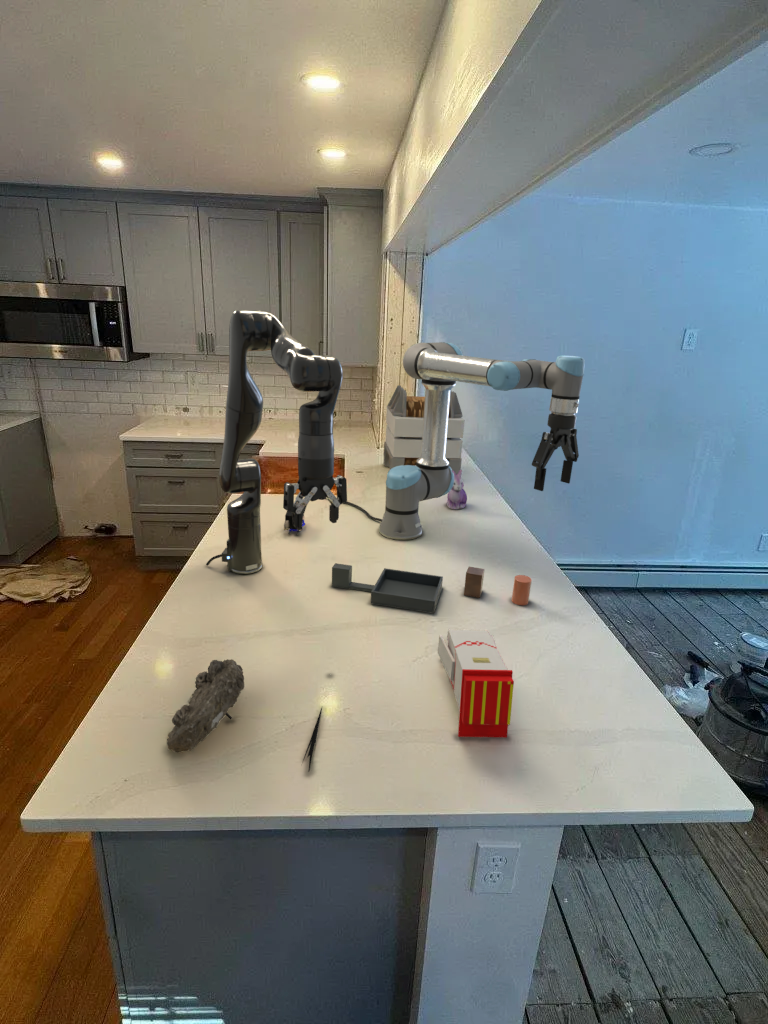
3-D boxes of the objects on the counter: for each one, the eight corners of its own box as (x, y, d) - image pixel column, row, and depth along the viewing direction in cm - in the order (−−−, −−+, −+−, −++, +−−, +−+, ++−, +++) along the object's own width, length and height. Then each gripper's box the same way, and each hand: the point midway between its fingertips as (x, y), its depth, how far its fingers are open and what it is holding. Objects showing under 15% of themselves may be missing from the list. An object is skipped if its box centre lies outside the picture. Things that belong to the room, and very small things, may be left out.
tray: (324, 596, 155) (324, 576, 153) (341, 573, 169) (341, 554, 167) (434, 613, 149) (435, 593, 147) (442, 587, 163) (443, 568, 160)
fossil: (192, 660, 117) (244, 628, 112) (224, 691, 120) (276, 661, 115) (142, 746, 98) (202, 712, 93) (182, 779, 101) (242, 748, 96)
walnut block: (463, 595, 159) (466, 572, 156) (466, 588, 163) (468, 566, 160) (479, 598, 158) (482, 575, 155) (482, 591, 162) (484, 568, 159)
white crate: (382, 463, 289) (386, 382, 275) (445, 464, 293) (451, 384, 279) (390, 482, 257) (394, 392, 243) (460, 483, 261) (468, 394, 247)
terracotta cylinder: (508, 600, 157) (511, 577, 155) (518, 595, 160) (521, 573, 158) (521, 607, 154) (524, 584, 151) (531, 602, 157) (535, 579, 154)
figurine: (453, 511, 224) (457, 474, 219) (439, 503, 233) (442, 468, 228) (473, 508, 228) (476, 472, 223) (458, 500, 237) (462, 466, 232)
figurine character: (303, 540, 193) (307, 520, 207) (302, 521, 190) (307, 502, 203) (283, 540, 193) (289, 520, 207) (282, 520, 190) (288, 501, 203)
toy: (488, 613, 130) (523, 677, 101) (484, 667, 133) (517, 744, 104) (435, 612, 130) (455, 676, 101) (432, 666, 133) (451, 743, 103)
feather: (331, 679, 122) (336, 673, 122) (307, 777, 96) (313, 769, 95) (324, 675, 122) (329, 669, 121) (298, 772, 95) (304, 764, 95)
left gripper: (336, 446, 126) (335, 514, 131) (277, 452, 118) (278, 525, 124) (354, 454, 120) (352, 525, 126) (292, 461, 112) (293, 536, 118)
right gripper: (548, 419, 148) (537, 496, 155) (598, 411, 163) (586, 482, 171) (525, 414, 153) (515, 489, 160) (575, 407, 169) (564, 476, 176)
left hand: (315, 525), depth 125 cm, fingers open, 8 cm apart
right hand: (552, 486), depth 165 cm, fingers open, 13 cm apart
